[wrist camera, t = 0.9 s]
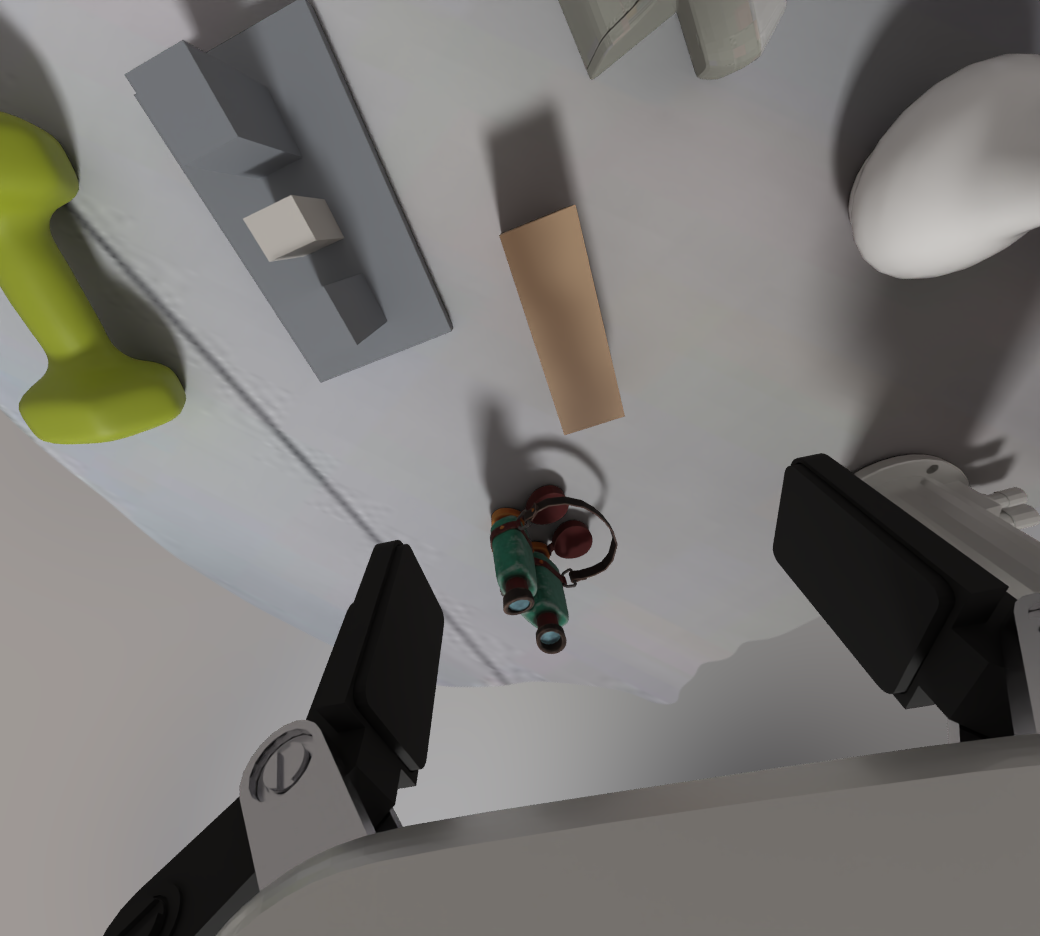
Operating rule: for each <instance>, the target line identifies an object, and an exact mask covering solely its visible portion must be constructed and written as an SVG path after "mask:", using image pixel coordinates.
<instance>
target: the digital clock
mask: <svg viewBox="0 0 1040 936" xmlns="http://www.w3.org/2000/svg"><path fill="white" fill-rule="evenodd" d="M558 1H559V3H560V6H561V8H562V10H563V13H564V15H565V18H566V20H567V23H568V25H569V28H570V30H571V33H572V35H573V38H574V40H575V43H576V45H577V47H578V50H579V52H580V55H581V57H582V60H583V62H584V65H585V67H586V69H587V72H588V75H589V77H590V79H591V80H593V79H595V78H596V77H597V76H599V75H600V74H601V73H602V72H603V71H605V70H606V69H607V68H608V67H610V66H611V65H612V64H613V63H614V62H616V61H617V60H618V59H619V58H621V57H622V56H623V55H624V54H626V53H627V52H628V51H629V50H630V49H632V48H633V47H634V46H635V45H637V44H638V43H639V42H640V41H641V40H643V39H644V38H645V37H646V36H648V35H649V34H650V33H651V32H652V31H654V30H655V29H656V28H657V27H659V26H660V25H661V24H662V23H663V22H665V21H666V20H667V19H668V18H670V17H671V16H672V15H673V14H674V13H676V12H677V15H678V18H679V21H680V24H681V27H682V31H683V34H684V37H685V41H686V44H687V47H688V51H689V54H690V57H691V60H692V64H693V67H694V70H695V73H696V75H697V77H699V78H700V79H706V80H713V79H719V78H722V77H725V76H727V75H729V74H731V73H733V72H735V71H738V70H740V69H742V68H744V67H745V66H747V65H749V64H750V63H752V62H753V61H754V60H756V59H758V58H759V57H760V55H761V54H762V53H763V51H764V49H765V47H766V45H767V44H768V42H769V40H770V38H771V36H772V35H773V33H774V31H775V29H776V27H777V25H778V23H779V21H780V19H781V17H782V15H783V13H784V11H785V8H786V1H787V0H558Z"/></svg>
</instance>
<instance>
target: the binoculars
mask: <svg viewBox="0 0 1040 936" xmlns="http://www.w3.org/2000/svg"><path fill="white" fill-rule="evenodd" d="M569 505H571V506H576V507H581V508H584V509H586V510H588V511H590V512H592V513H593V514H595V515H597V516H598V517H599V518H600V519H601V520H602V521H603V522H605V524H606V525H607V526H608V527H609V529H610V531H611V534H612V541H611V545H610V549H609V553H608V554H607V555H606V557H605V558H604V559H603V560H602V562H600V563H598V564H596V565H594V566H592V567H589V568H586V569H582V570H577V571H573V570H572V569H571V568H569V569H567V570H566V571H564V572H563V573H562V574H561V575H560V573H559V569H558V568H557V567H556V565H555V564H554V563H553V562H552V561H551V560H549V558H550V556H551V552H552V551H553V550H555V553H556V554H557V555H558V556H560V557H562V558H577V557H580V556H582V555H584V554H585V553H587V552H588V551H589V549H590V548H591V545H592V535H591V533H590V531H589V530H588V528H587V526H586V525H585V524H584V523H583V522H580V521H577V520H570V521H566V522H564V523H562V524H561V525H560V526H559V527H558V528H557V529H556V531H555V532H554V535H553V538H552V543H551V544H549V545H548V546H547V545H546V544H544V543H541V542H531V541H530V537H529V535H528V533H527V531H526V528H528V527H529V526H530V522H533V523H535V524H540V525H544V524H550V523H553V522H556V521H558V520H559V519H561V518H562V517H563V516H564V515H565V514H566V512H567V510H568V506H569ZM491 522H492V527H491V535H490V543H491V549H492V552H493V556H494V563H495V571H496V577H497V581H498V584H499V587H500V592H501V595H502V596H504V597H503V608H504V612H505V613H506V614H508V615H518V614H521V615H522V616H523V617H524V618H525V619H526V620H527V621H528V622H530V623H531V624H532V625H533V626H535V627H536V628H538V630H537V632H536V642H537V645H538V647H539V649H540V650H542V651H543V652H545V653H548V654H555V653H558V652H560V651H562V650H563V649H564V647H565V646H566V637H565V633H564V630H563V628H562V627H563V626H564V625H565V624H567V622H568V620H569V616H568V610H567V605H566V599H565V594H564V590H563V586H564V587H566V588H571V587H575V586H576V585H577V583H576V582H578V581H580V580H586V579H587V578H588V577H592V576H595V575H597V574H599V573H601V572H603V571H604V570H606V569H607V568H608V567H609V565H610V564H611V563H612V561H613V560H614V556H615V552H616V549H617V541H616V538H615V535H614V531H613V530H612V528H611V526H610V524H609V523H608V521H607V520H606V519H605V518H604V516H603V515H602V514H601V513H600V512H599V511H598V510H596V509H595V508H594V507H593V506H591V505H589V504H587V503H586V502H584V501H582V500H579V499H574V498H569V497H566V496H565V495H564V493H563V491H562V490H561V489H560V488H559V487H557V486H554V485H547V486H543V487H540V488H539V489H537V490H536V491H534V492H533V493H532V494H531V496H530V497H529V499H528V501H527V504H526V509H525V510H523V511H522V512H520V511H518V510H516V509H512V508H500V509H498V510H496V511H495V512H494V513H493V514H492V518H491ZM525 523H526V524H527V525H525ZM524 525H525V526H524ZM569 571H570V572H569ZM567 572H569V576H570V579H571V582H572V583H574V584H573V585H567V582H566V578H565V576H564V574H565V573H567Z"/></svg>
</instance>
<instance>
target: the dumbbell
mask: <svg viewBox="0 0 1040 936" xmlns="http://www.w3.org/2000/svg"><path fill="white" fill-rule="evenodd" d="M78 190H79V183H78V180H77V176H76V174H75V172H74V169H73V167H72V165H71V163H70V161H69V159H68V157H67V155H66V153H65V151H64V150H63V148H62V146H61V145H60V144H59V142H58V141H57V140H56V139H55V138H54V137H53V136H51V135H50V134H49V133H47V132H46V131H44V130H42V129H41V128H39V127H37V126H35V125H33V124H31V123H29V122H27V121H25V120H23V119H21V118H18V117H16V116H13V115H10V114H7V113H4V112H0V287H1V288H2V290H3V292H4V293H5V295H6V297H7V298H8V300H9V301H10V303H11V304H12V306H13V307H14V309H15V310H16V311H17V313H18V314H19V316H20V317H21V318H22V320H23V321H24V323H25V324H26V326H27V327H28V328H29V330H30V331H31V332H32V334H33V335H34V337H35V338H36V339H37V341H38V342H39V343H40V345H41V346H42V348H43V349H44V351H45V353H46V355H47V358H48V369H47V371H46V373H45V374H44V376H43V377H42V378H41V379H40V380H39V381H37V382H36V383H35V384H34V385H33V386H32V387H31V388H30V389H29V390H28V391H27V392H26V393H25V394H24V395H23V397H22V399H21V401H20V402H19V411H20V413H21V415H22V417H23V419H24V421H25V422H26V424H27V425H28V426H29V428H30V429H31V430H32V432H33V433H34V434H35V435H36V436H37V437H38V438H39V439H41V440H43V441H46V442H50V443H56V444H89V443H102V442H109V441H114V440H118V439H122V438H126V437H129V436H132V435H135V434H138V433H141V432H144V431H146V430H149V429H152V428H155V427H157V426H160V425H162V424H165V423H167V422H169V421H171V420H172V419H174V418H175V417H177V416H178V415H179V414H180V412H181V411H182V409H183V407H184V404H185V401H186V395H185V392H184V389H183V387H182V385H181V383H180V381H179V379H178V378H177V376H176V375H175V373H174V372H173V371H172V370H171V369H170V368H168V367H166V366H164V365H162V364H159V363H155V362H151V361H143V360H137V359H134V358H131V357H129V356H127V355H125V354H123V353H122V352H120V351H119V350H118V349H117V348H116V347H115V346H114V345H113V344H112V343H111V341H110V340H109V338H108V336H107V334H106V332H105V330H104V328H103V326H102V324H101V322H100V320H99V319H98V317H97V315H96V313H95V312H94V310H93V308H92V306H91V305H90V303H89V301H88V299H87V297H86V296H85V294H84V292H83V290H82V289H81V287H80V285H79V283H78V281H77V280H76V278H75V276H74V274H73V272H72V271H71V269H70V267H69V265H68V264H67V262H66V260H65V259H64V257H63V255H62V254H61V252H60V250H59V249H58V247H57V245H56V244H55V242H54V240H53V237H52V235H51V232H50V227H49V225H50V219H51V216H52V214H53V213H54V212H55V211H56V209H58V208H59V207H61V206H63V205H64V204H66V203H68V202H70V201H71V200H72V199H73V198H74V197H75V196H76V194H77V192H78Z"/></svg>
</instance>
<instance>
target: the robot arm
mask: <svg viewBox="0 0 1040 936" xmlns="http://www.w3.org/2000/svg"><path fill="white" fill-rule="evenodd" d="M1027 501H1028V496H1027V494H1026V493H1025V492H1024V491H1023V490H1022V489H1020V488H1017V487H1014V488H1009V489H1005V490H1002V491H998V492H994V493H993V494H989V495H986V494H981V493H979V492H977V491H976V490H974V489H972V488H970V487H969V483H968V479H967V477H966V476H965V475H964V473H963V472H962V470H960V469H959V468H957V467H956V466H954V465H953V464H951V463H949V462H947V461H945V460H943V459H941V458H939V457H935V456H930V455H917V454H911V455H904V456H897V457H893V458H890V459H886V460H883V461H879V462H877V463H875V464H872V465H870V466H867V467H865V468H863V469H861V470H860V471H858V472H856V473H854V474H853V473H852V472H850V471H849V470H847V469H846V468H845V467H843V466H842V465H841V464H839V463H838V462H836V461H835V460H834V459H832V458H831V457H829V456H828V455H826V454H822V453H820V454H815V455H810V456H805V457H800V458H796V459H794V460H793V462H792V464H791V466H788V467H787V468H786V470H785V474H784V480H783V487H782V493H781V499H780V505H779V512H778V518H777V524H776V530H775V537H774V543H773V553H774V556H775V558H776V560H777V562H778V563H779V564H780V566H781V567H782V568H783V569H784V571H785V572H786V573H787V574H788V575H789V577H790V578H791V579H792V580H793V582H794V583H795V584H796V585H797V587H798V588H799V589H800V590H801V591H802V593H803V594H804V595H805V596H806V598H807V599H808V600H809V601H810V603H811V604H812V605H813V606H814V608H815V609H816V610H817V611H818V612H819V614H820V615H821V616H822V617H823V619H824V620H825V621H826V622H827V624H828V625H829V626H830V627H831V628H832V630H833V631H834V632H835V633H836V635H837V636H838V637H839V638H840V640H841V641H842V642H843V643H844V644H845V646H846V647H847V648H848V649H849V650H850V652H851V653H852V654H853V656H854V657H855V658H856V659H857V660H858V662H859V663H860V664H861V665H862V667H863V668H864V669H865V670H866V672H867V673H868V674H869V675H870V677H871V678H872V679H873V680H874V681H875V683H876V684H877V685H878V686H879V687H880V688H881V689H882V690H883V691H884V692H886V693H889V694H893V695H894V696H895V697H896V699H897V700H898V701H899V702H900V703H901V705H902V706H903V707H904V708H905V709H910V708H917V707H923V706H929V705H934V704H936V705H937V707H938V708H939V709H940V710H941V711H942V712H943V713H944V714H945V715H946V717H947V727H948V744H943V745H935V746H927V747H920V748H912V749H905V750H898V751H892V752H885V753H878V754H871V755H864V756H857V757H851V758H843V759H836V760H829V761H822V762H816V763H809V764H802V765H795V766H788V767H781V768H774V769H768V770H761V771H754V772H747V773H740V774H734V775H727V776H720V777H714V778H707V779H700V780H693V781H688V782H680V783H673V784H667V785H660V786H654V787H648V788H640V789H634V790H627V791H620V792H614V793H607V794H601V795H594V796H588V797H581V798H575V799H569V800H562V801H556V802H549V803H543V804H537V805H530V806H523V807H517V808H511V809H504V810H497V811H491V812H485V813H479V814H473V815H467V816H462V817H456V818H450V819H445V820H440V821H433V822H427V823H422V824H416V825H411V826H405V827H403V826H402V824H401V822H400V820H399V818H398V816H397V814H396V812H395V811H394V809H393V806H394V805H395V801H396V796H397V790H398V789H399V788H406V787H412V786H416V783H417V776H418V769H422V768H423V767H424V766H425V763H426V759H427V752H428V743H429V736H430V728H431V721H432V713H433V705H434V697H435V690H436V682H437V674H438V667H439V659H440V651H441V643H442V636H443V628H444V616H443V612H442V609H441V607H440V605H439V603H438V601H437V599H436V597H435V595H434V593H433V591H432V589H431V587H430V585H429V583H428V581H427V579H426V577H425V575H424V573H423V571H422V569H421V567H420V565H419V563H418V561H417V559H416V557H415V555H414V553H413V551H412V549H411V547H410V546H409V545H408V544H404V545H403V543H402V542H401V541H400V540H395V541H390V542H385V543H380V544H377V545H375V547H374V549H373V552H372V554H371V557H370V560H369V562H368V565H367V568H366V571H365V573H364V576H363V579H362V581H361V584H360V587H359V589H358V592H357V595H356V598H355V600H354V602H353V603H352V604H351V605H350V607H349V609H348V610H347V613H346V615H345V618H344V621H343V623H342V626H341V629H340V631H339V634H338V636H337V639H336V642H335V644H334V647H333V650H332V652H331V655H330V658H329V660H328V663H327V666H326V668H325V671H324V673H323V676H322V679H321V682H320V684H319V687H318V689H317V692H316V695H315V698H314V700H313V703H312V705H311V708H310V710H309V713H308V716H307V718H306V720H299V721H294V722H292V723H290V724H287V725H285V726H283V727H281V728H280V729H278V730H277V731H275V732H274V733H272V735H270V737H268V738H267V739H266V740H265V741H264V742H263V743H262V744H261V745H260V746H259V748H258V749H257V750H256V752H255V753H254V754H253V756H252V757H251V759H250V761H249V763H248V765H247V766H246V769H245V770H244V772H243V776H242V780H241V783H240V796H239V797H238V798H237V799H236V800H235V801H234V802H233V803H232V804H231V805H230V806H229V807H228V808H227V809H226V810H224V811H223V812H222V813H221V814H220V815H219V816H218V817H217V818H216V819H215V820H214V821H213V822H212V823H211V824H210V825H208V826H207V827H206V828H205V829H204V830H203V831H202V832H201V833H200V834H199V835H198V836H197V837H196V838H195V839H193V840H192V841H191V842H190V843H189V844H188V845H187V846H186V847H185V848H184V849H183V850H182V851H181V852H180V853H178V854H177V855H176V856H175V857H174V858H173V859H172V860H171V861H170V862H169V863H168V864H167V865H166V866H165V867H164V868H162V869H161V870H160V871H159V872H158V873H157V874H156V875H155V876H154V877H153V878H152V879H151V880H150V881H148V882H147V883H146V884H145V885H144V886H143V887H142V888H141V889H140V890H139V891H138V892H137V893H136V894H135V895H134V896H133V897H132V898H131V899H130V900H129V901H128V903H127V904H126V905H125V906H124V907H123V908H122V909H121V910H120V912H119V913H118V915H117V916H116V917H115V919H114V920H113V921H112V923H111V924H110V925H109V927H108V928H107V930H106V932H105V933H104V935H103V936H1040V542H1039V541H1038V540H1036V539H1034V538H1033V537H1031V536H1029V535H1027V534H1026V533H1024V532H1023V531H1021V530H1019V529H1023V528H1027V527H1031V526H1035V525H1038V524H1039V523H1040V515H1039V514H1038V512H1037V511H1036V510H1035V509H1034V508H1033V507H1031V506H1029V505H1027V504H1024V503H1026V502H1027Z"/></svg>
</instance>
